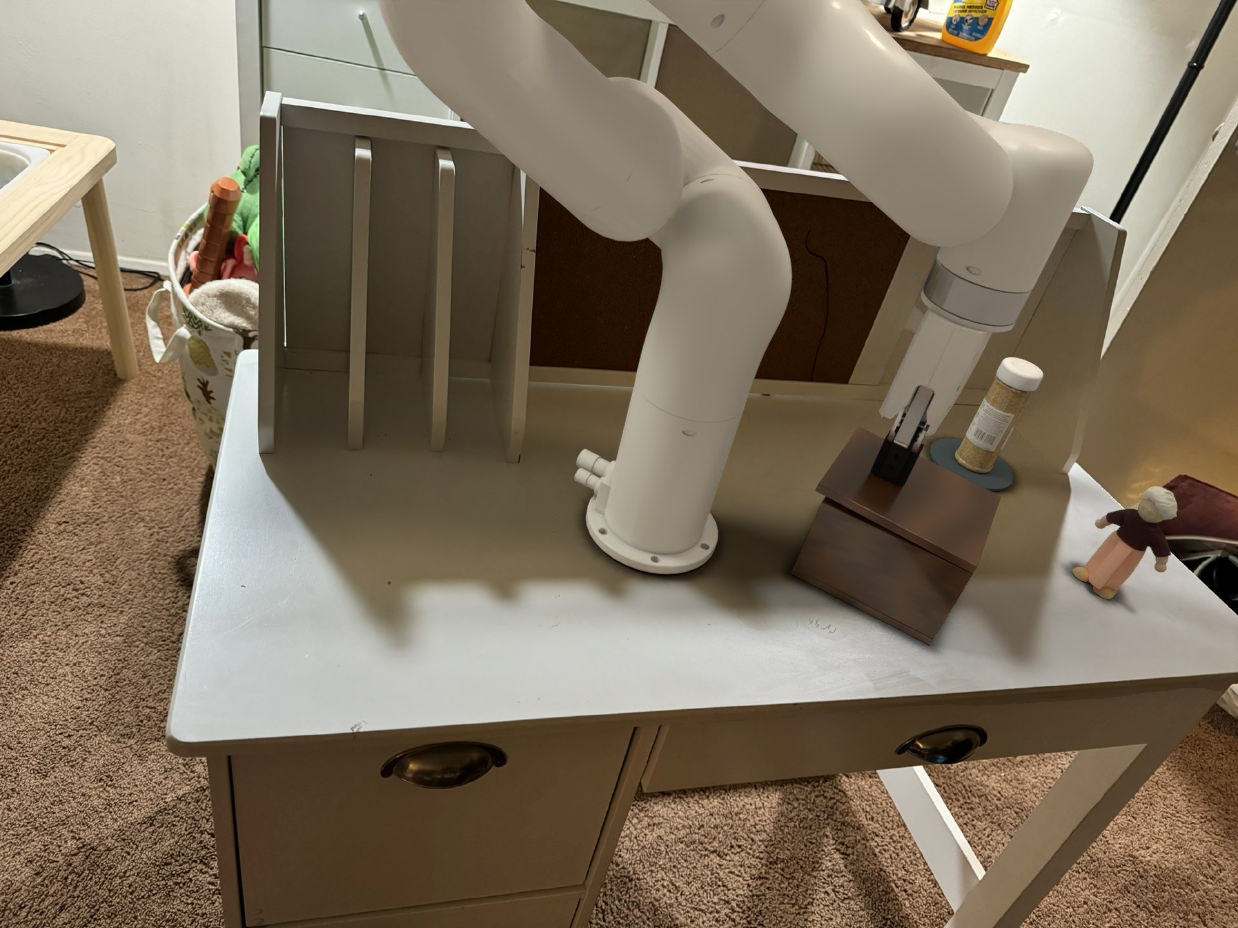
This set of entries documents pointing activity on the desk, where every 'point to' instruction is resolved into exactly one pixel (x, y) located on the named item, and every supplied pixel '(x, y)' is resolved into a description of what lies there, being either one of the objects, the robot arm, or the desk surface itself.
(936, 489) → the chest lid
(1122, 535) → the grandmother figurine
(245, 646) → the desk surface
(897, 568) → the chest
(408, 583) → the desk surface
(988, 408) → the sprinkles bottle
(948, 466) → the mat
